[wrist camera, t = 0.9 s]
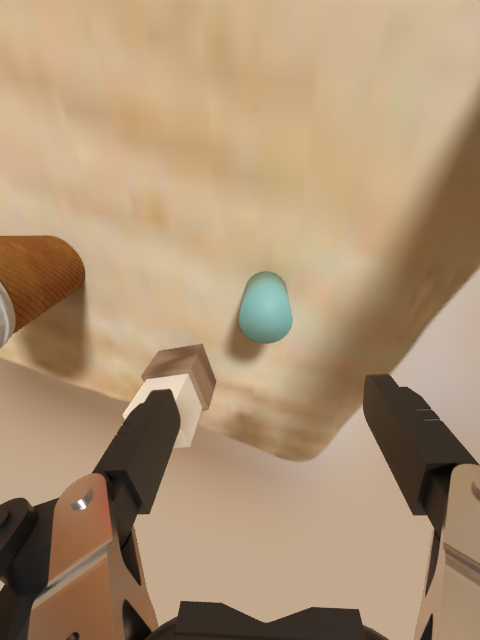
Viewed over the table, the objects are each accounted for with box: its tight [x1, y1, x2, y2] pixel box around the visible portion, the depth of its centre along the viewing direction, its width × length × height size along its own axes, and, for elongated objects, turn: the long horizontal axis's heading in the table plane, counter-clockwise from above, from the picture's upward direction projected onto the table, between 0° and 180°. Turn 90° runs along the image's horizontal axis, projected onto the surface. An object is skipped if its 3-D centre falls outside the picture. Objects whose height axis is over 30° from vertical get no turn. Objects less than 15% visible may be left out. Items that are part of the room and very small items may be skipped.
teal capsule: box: [238, 272, 292, 344], centre depth 23 cm, size 4×4×7 cm
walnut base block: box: [141, 344, 216, 411], centre depth 30 cm, size 6×6×5 cm
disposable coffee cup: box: [0, 236, 84, 348], centre depth 22 cm, size 10×10×12 cm
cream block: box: [123, 374, 202, 448], centre depth 25 cm, size 5×5×5 cm
